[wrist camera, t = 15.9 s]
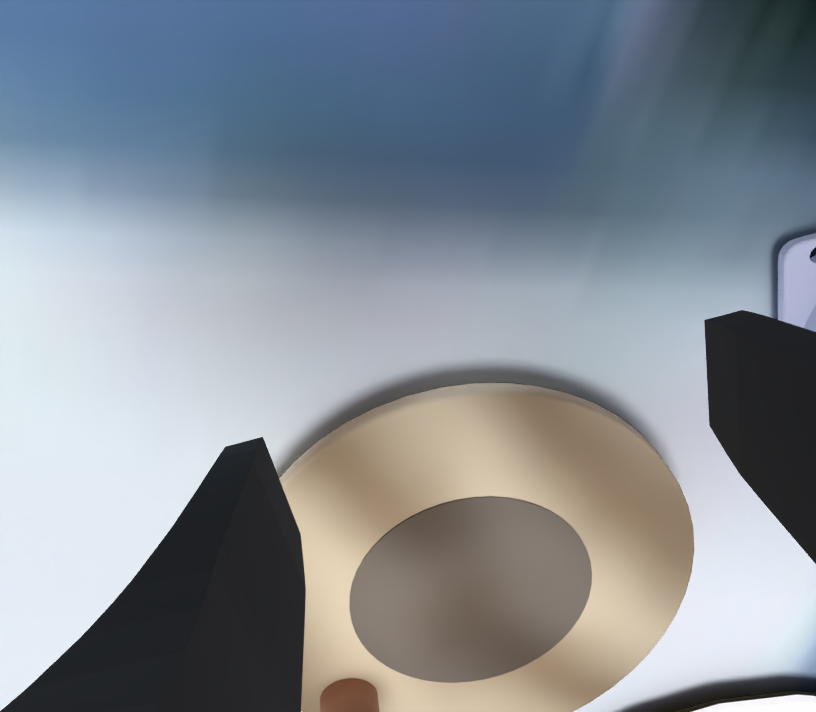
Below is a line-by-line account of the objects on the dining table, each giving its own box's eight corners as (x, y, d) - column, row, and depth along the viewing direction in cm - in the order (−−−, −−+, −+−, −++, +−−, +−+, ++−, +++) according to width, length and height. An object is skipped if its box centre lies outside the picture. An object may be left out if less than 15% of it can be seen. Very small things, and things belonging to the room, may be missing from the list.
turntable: (474, 284, 21) (507, 347, 18) (766, 546, 27) (831, 630, 24) (142, 610, 25) (118, 712, 22) (462, 777, 31) (482, 877, 28)
